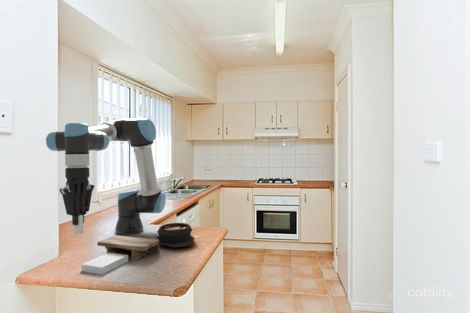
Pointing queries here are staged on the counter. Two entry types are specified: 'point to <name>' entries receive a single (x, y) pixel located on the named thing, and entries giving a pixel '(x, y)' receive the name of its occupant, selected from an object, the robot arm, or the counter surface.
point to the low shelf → (130, 245)
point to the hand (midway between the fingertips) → (78, 233)
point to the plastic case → (104, 263)
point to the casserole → (175, 235)
